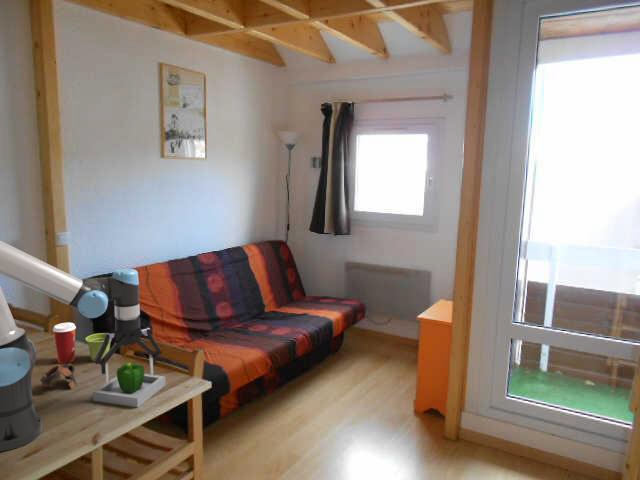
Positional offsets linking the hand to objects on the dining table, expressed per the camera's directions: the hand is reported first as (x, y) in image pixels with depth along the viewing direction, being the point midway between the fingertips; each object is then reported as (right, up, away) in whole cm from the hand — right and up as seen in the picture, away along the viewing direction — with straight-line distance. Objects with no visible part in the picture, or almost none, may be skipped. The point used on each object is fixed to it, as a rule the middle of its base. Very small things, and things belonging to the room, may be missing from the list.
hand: (129, 378), depth 156 cm
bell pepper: (0, -4, +1) cm, 4 cm away
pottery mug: (-25, -4, +5) cm, 26 cm away
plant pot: (-22, 0, +27) cm, 35 cm away
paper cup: (-34, 0, +25) cm, 42 cm away
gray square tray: (0, -5, +1) cm, 5 cm away
